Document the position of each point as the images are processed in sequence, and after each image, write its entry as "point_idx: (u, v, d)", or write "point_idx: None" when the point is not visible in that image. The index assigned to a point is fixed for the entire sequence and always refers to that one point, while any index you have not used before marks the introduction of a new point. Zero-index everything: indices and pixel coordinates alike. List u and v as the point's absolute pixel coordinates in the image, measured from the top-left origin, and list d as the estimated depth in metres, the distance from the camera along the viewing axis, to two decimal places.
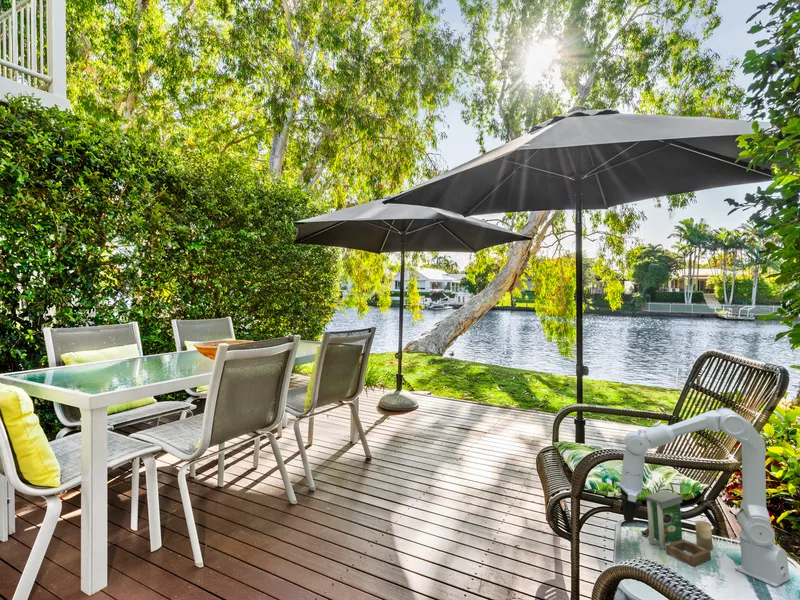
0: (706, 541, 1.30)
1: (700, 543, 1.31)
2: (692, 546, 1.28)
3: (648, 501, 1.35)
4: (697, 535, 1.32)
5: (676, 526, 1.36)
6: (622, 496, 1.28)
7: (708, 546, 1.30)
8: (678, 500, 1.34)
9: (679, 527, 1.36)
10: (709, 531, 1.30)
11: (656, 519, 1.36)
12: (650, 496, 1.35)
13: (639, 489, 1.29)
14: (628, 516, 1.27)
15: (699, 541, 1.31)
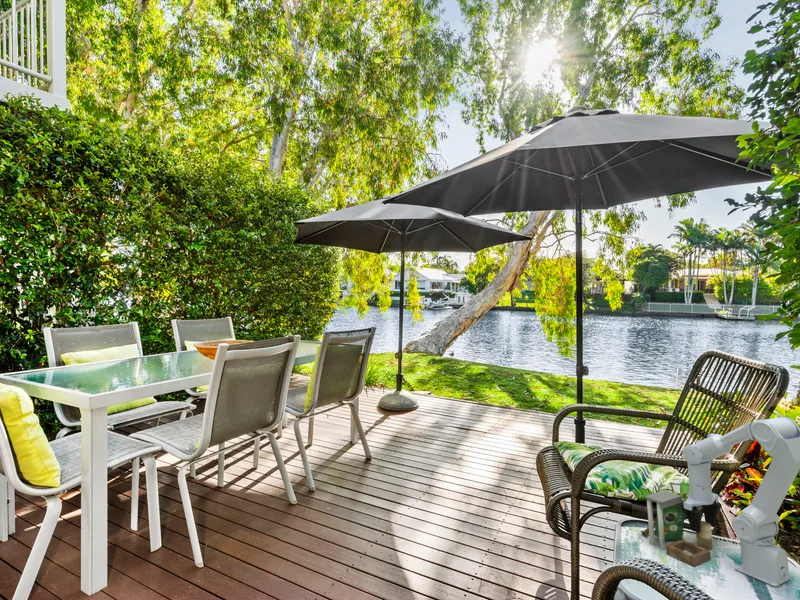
0: (706, 541, 1.30)
1: (700, 543, 1.31)
2: (692, 546, 1.28)
3: (648, 501, 1.35)
4: (697, 535, 1.32)
5: (678, 526, 1.36)
6: (684, 505, 1.32)
7: (708, 546, 1.30)
8: (678, 500, 1.34)
9: (681, 527, 1.36)
10: (709, 531, 1.30)
11: None
12: (650, 496, 1.35)
13: (704, 500, 1.30)
14: (694, 526, 1.30)
15: (699, 541, 1.31)
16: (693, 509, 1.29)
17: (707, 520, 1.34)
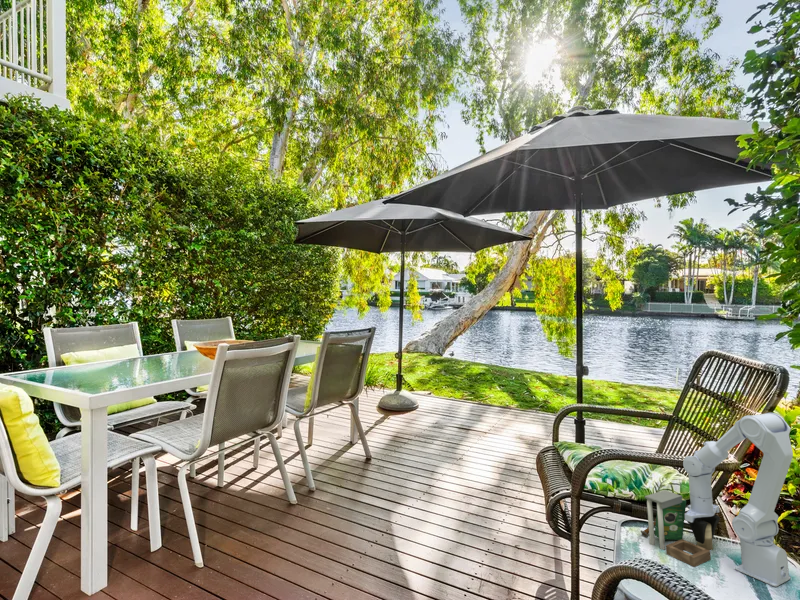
0: (706, 541, 1.30)
1: (700, 543, 1.31)
2: (692, 546, 1.28)
3: (648, 501, 1.35)
4: None
5: (678, 526, 1.36)
6: None
7: (708, 546, 1.30)
8: (678, 500, 1.34)
9: (681, 527, 1.36)
10: (709, 531, 1.30)
11: None
12: (650, 496, 1.35)
13: (705, 512, 1.30)
14: (698, 537, 1.31)
15: None
16: (697, 520, 1.30)
17: None
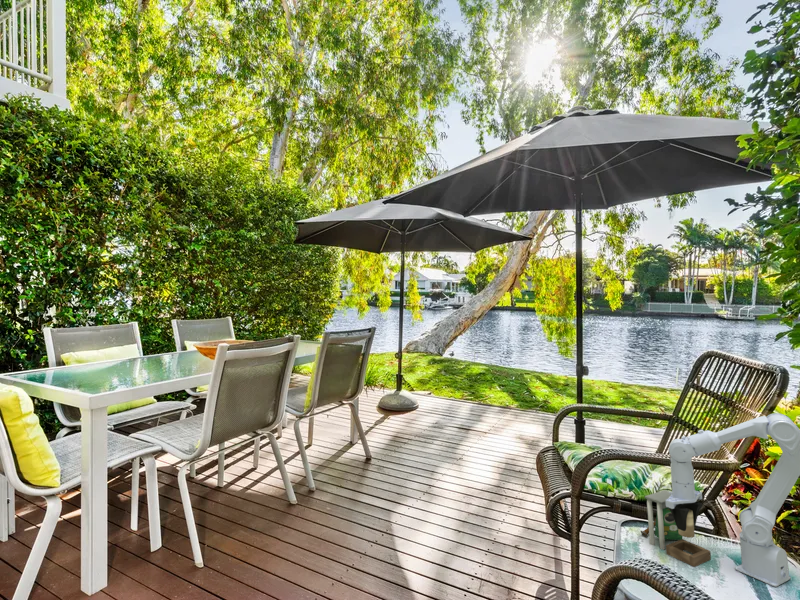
0: (687, 528, 1.25)
1: (682, 531, 1.26)
2: (692, 546, 1.28)
3: (648, 501, 1.35)
4: None
5: None
6: None
7: (690, 533, 1.25)
8: None
9: None
10: (691, 518, 1.25)
11: None
12: (650, 496, 1.35)
13: (687, 498, 1.25)
14: (679, 524, 1.26)
15: None
16: (678, 506, 1.25)
17: None
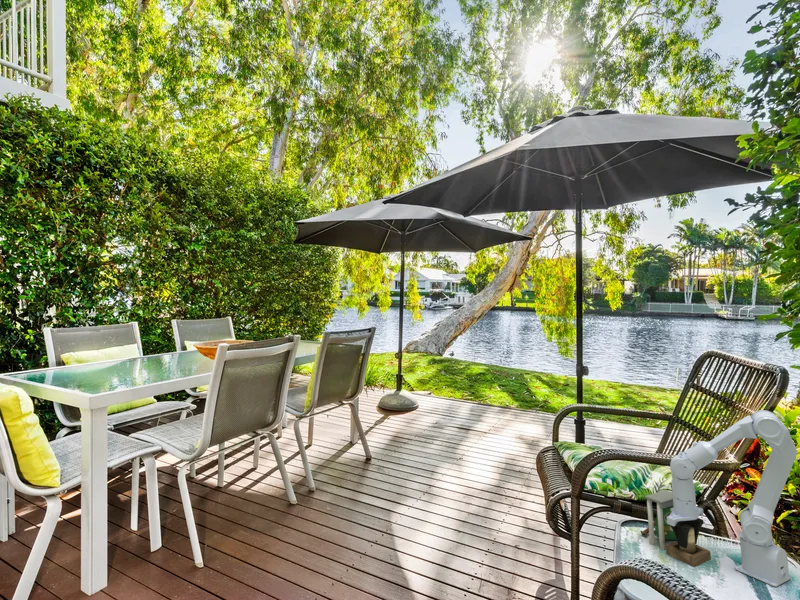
0: (688, 546, 1.25)
1: (683, 548, 1.26)
2: None
3: (648, 501, 1.35)
4: None
5: None
6: None
7: (691, 550, 1.25)
8: None
9: None
10: (692, 535, 1.25)
11: None
12: (650, 496, 1.35)
13: (688, 516, 1.25)
14: (680, 541, 1.26)
15: None
16: (680, 523, 1.25)
17: None
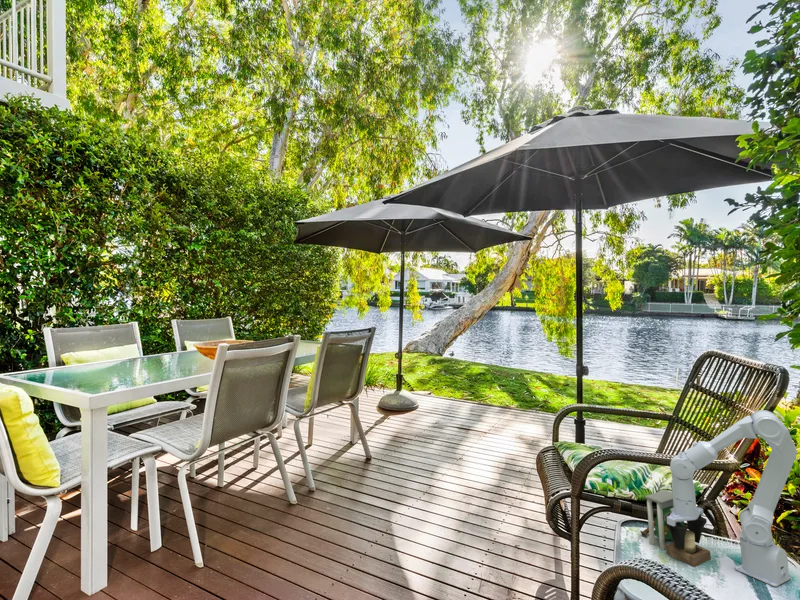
0: (689, 551, 1.25)
1: None
2: None
3: (648, 501, 1.35)
4: None
5: None
6: None
7: None
8: None
9: None
10: (692, 540, 1.25)
11: None
12: (650, 496, 1.35)
13: (688, 516, 1.25)
14: (677, 542, 1.25)
15: None
16: (676, 525, 1.24)
17: None
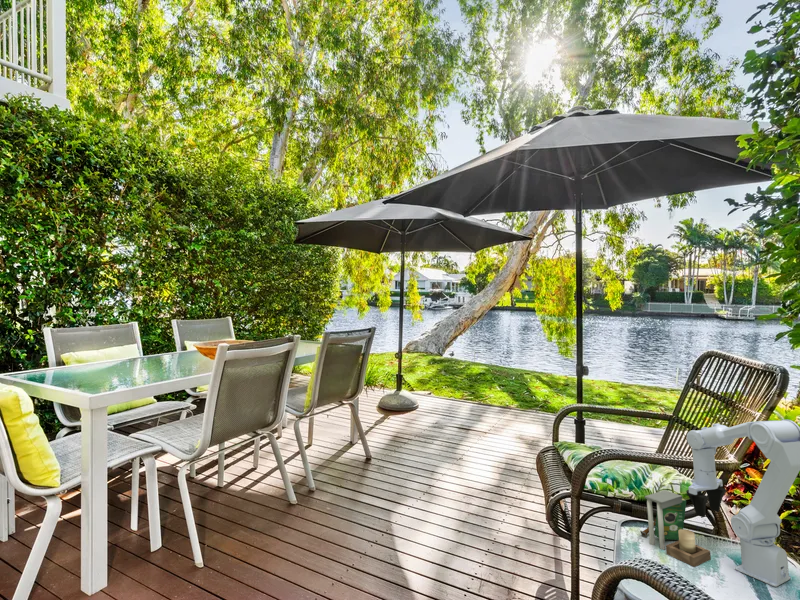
0: (689, 551, 1.25)
1: None
2: None
3: (648, 501, 1.35)
4: (680, 544, 1.27)
5: (678, 526, 1.36)
6: (689, 490, 1.34)
7: None
8: (678, 500, 1.34)
9: (681, 527, 1.36)
10: (692, 540, 1.25)
11: None
12: (650, 496, 1.35)
13: (709, 485, 1.31)
14: (699, 511, 1.32)
15: None
16: (698, 494, 1.31)
17: (712, 505, 1.36)
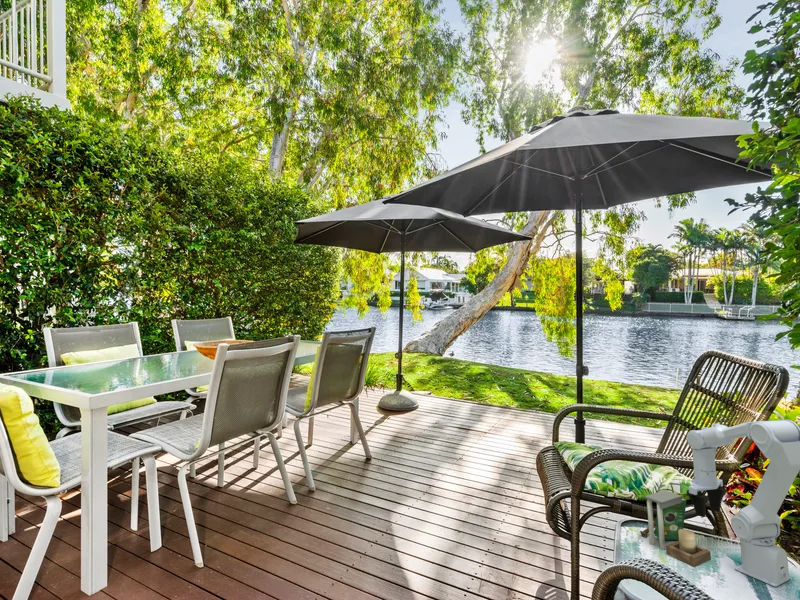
0: (689, 551, 1.25)
1: None
2: None
3: (648, 501, 1.35)
4: (680, 544, 1.27)
5: (678, 526, 1.36)
6: (689, 490, 1.34)
7: None
8: (678, 500, 1.34)
9: (681, 527, 1.36)
10: (692, 540, 1.25)
11: None
12: (650, 496, 1.35)
13: (709, 485, 1.31)
14: (699, 511, 1.32)
15: None
16: (698, 494, 1.31)
17: (712, 505, 1.36)
